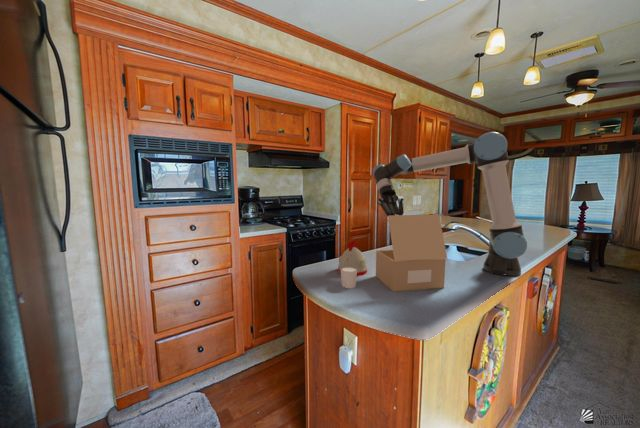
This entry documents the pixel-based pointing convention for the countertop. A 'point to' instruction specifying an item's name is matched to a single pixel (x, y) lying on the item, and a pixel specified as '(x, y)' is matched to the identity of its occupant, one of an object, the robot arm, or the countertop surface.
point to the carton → (409, 272)
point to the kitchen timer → (353, 259)
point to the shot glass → (348, 277)
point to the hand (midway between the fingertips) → (400, 227)
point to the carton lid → (417, 237)
